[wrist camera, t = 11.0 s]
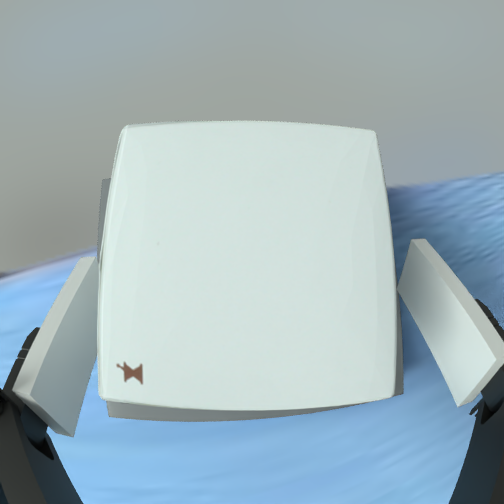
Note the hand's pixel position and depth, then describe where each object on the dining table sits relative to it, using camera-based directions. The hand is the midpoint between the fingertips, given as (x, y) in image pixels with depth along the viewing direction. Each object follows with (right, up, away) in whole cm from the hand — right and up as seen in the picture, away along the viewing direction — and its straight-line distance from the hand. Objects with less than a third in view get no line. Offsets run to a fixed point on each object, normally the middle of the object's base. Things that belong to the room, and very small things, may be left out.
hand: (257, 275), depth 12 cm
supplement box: (-1, -2, +7) cm, 7 cm away
